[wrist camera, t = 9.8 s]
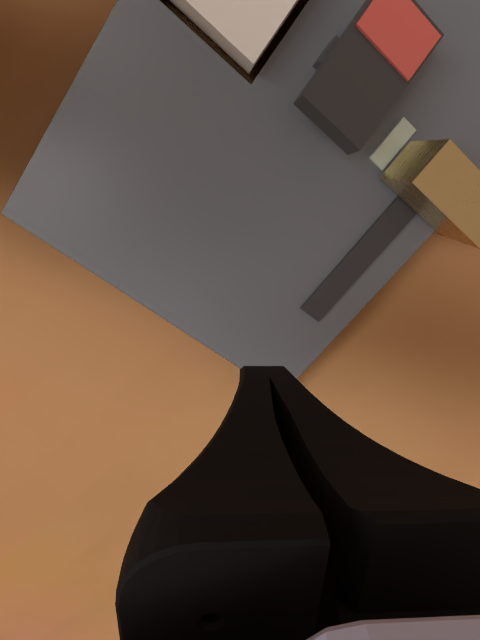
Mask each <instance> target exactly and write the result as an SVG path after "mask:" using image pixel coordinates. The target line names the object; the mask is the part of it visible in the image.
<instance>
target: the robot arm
mask: <svg viewBox="0 0 480 640" xmlns="http://www.w3.org/2000/svg"><path fill="white" fill-rule="evenodd" d="M115 605H116V613H117V620H118V628H119V635H120V640H480V489H479V488H476V487H473V486H470V485H468V484H465V483H462V482H460V481H457V480H454V479H452V478H449V477H446V476H444V475H441V474H439V473H437V472H434V471H432V470H430V469H428V468H425V467H423V466H421V465H419V464H417V463H414V462H412V461H410V460H408V459H406V458H404V457H402V456H400V455H398V454H396V453H395V452H393V451H391V450H389V449H387V448H386V447H384V446H382V445H380V444H378V443H377V442H375V441H373V440H372V439H370V438H368V437H367V436H365V435H364V434H362V433H361V432H359V431H358V430H356V429H355V428H353V427H352V426H350V425H349V424H348V423H346V422H345V421H343V420H342V419H341V418H340V417H338V416H337V415H336V414H335V413H333V412H332V411H331V410H330V409H328V408H327V407H326V406H325V405H324V404H322V403H321V402H320V401H319V400H318V399H317V398H316V397H315V396H314V395H312V394H311V393H310V392H309V391H308V390H307V389H306V388H305V387H304V386H303V385H302V384H301V383H300V382H299V381H298V380H297V379H296V378H295V377H294V376H293V375H292V374H291V373H290V372H289V371H288V370H287V369H286V368H285V367H284V366H243V367H242V368H241V369H240V382H239V385H238V389H237V392H236V394H235V397H234V400H233V402H232V404H231V406H230V408H229V410H228V412H227V414H226V416H225V418H224V420H223V422H222V424H221V425H220V427H219V428H218V430H217V432H216V433H215V435H214V436H213V438H212V439H211V440H210V442H209V443H208V444H207V446H206V447H205V448H204V449H203V451H202V452H201V453H200V454H199V456H198V457H197V458H196V459H195V460H194V461H193V462H192V463H191V464H190V465H189V466H188V467H187V468H186V469H185V470H184V471H183V472H182V473H181V475H180V476H179V477H178V478H176V479H175V480H174V481H173V482H172V483H171V484H170V485H168V486H167V487H166V488H165V489H164V490H162V491H161V492H160V493H159V494H157V495H156V496H155V497H154V498H153V499H151V500H150V501H148V503H147V505H146V506H145V508H144V510H143V512H142V515H141V517H140V519H139V521H138V523H137V525H136V527H135V529H134V532H133V534H132V536H131V539H130V542H129V544H128V547H127V550H126V553H125V556H124V559H123V563H122V567H121V571H120V576H119V580H118V585H117V589H116V602H115Z"/></svg>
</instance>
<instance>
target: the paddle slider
mask: <svg viewBox="0 0 480 640" xmlns="http://www.w3.org/2000/svg"><path fill="white" fill-rule="evenodd" d="M380 178H381V179H382V180H383V181H384V182H385V183H386V184H387V185H388V186H389V187H390V188H391V189H392V190H393V191H394V192H395V193H396V194H397V195H399V196H400V197H401V198H402V199H403V200H404V201H405V202H406V203H407V204H408V205H409V206H410V207H411V208H412V209H413V210H414V211H415V212H416V213H418V214H419V215H420V216H421V217H422V218H423V219H424V220H425V221H426V222H427V223H428V224H429V225H430V226H431V227H432V228H433V229H434V230H436V231H437V232H438V233H439V234H440V235H443V236H446V237H449V238H451V239H454V240H457V241H460V242H462V243H465V244H468V245H471V246H474V247H476V248H479V249H480V170H479V169H478V168H477V167H476V166H475V165H474V164H473V163H472V162H471V161H470V160H469V159H468V158H467V157H466V155H465V154H464V153H463V152H462V151H461V150H460V149H459V148H458V147H457V146H456V145H455V144H454V143H453V142H452V141H451V139H440V140H423V141H410V142H409V143H408V144H407V146H406V147H405V148H404V149H403V150H402V152H401V153H400V154H399V155H398V156H397V157H396V159H395V160H394V161H393V162H392V163H391V165H390V166H389V167H388V168H387V169H386V170H385V172H384V173H383V174H382V175H381V176H380Z"/></svg>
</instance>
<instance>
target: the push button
mask: <svg viewBox="0 0 480 640" xmlns="http://www.w3.org/2000/svg"><path fill="white" fill-rule="evenodd" d="M169 1H171V2H172V3H173V4H174V5H175V6H176V7H177V8H178V9H179V10H180V11H181V12H182V13H183V14H185V15H186V16H187V17H188V18H189V19H190V20H191V21H192V22H193V23H194V24H195V25H196V26H197V27H199V28H200V29H201V30H202V31H203V32H204V33H205V34H206V35H207V36H208V37H209V38H210V39H212V40H213V41H214V42H215V43H216V44H217V45H218V46H219V47H220V48H221V49H222V50H223V51H224V52H226V53H227V54H228V55H229V56H230V57H231V58H232V59H233V60H234V61H235V62H236V63H237V64H238V65H240V66H241V67H242V68H243V69H244V70H245V71H246V72H247V73H248V74H250V72H251V71H252V69H253V68H254V66H255V65H256V63H257V62H258V60H259V59H260V57H261V56H262V54H263V53H264V51H265V50H266V48H267V47H268V46H269V44H270V43H271V41H272V40H273V38H274V37H275V35H276V34H277V32H278V31H279V29H280V28H281V26H282V25H283V23H284V22H285V20H286V19H287V18H288V16H289V15H290V13H291V12H292V10H293V9H294V7H295V6H296V4H297V3H298V1H299V0H169Z"/></svg>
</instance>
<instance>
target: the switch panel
mask: <svg viewBox="0 0 480 640" xmlns="http://www.w3.org/2000/svg"><path fill="white" fill-rule="evenodd" d="M365 1H366V0H309V1H308V2H307V4H306V5H305V7H304V8H303V10H302V11H301V13H300V14H299V15H298V17H297V18H296V20H295V21H294V23H293V24H292V26H291V27H290V29H289V30H288V32H287V33H286V34H285V36H284V37H283V39H282V40H281V42H280V43H279V45H278V46H277V48H276V49H275V50H274V52H273V53H272V55H271V56H270V58H269V59H268V61H267V62H266V64H265V65H264V67H263V68H262V69H261V71H260V72H259V74H258V75H257V77H256V78H255V80H254V81H253V83H252V84H250V83H249V82H248V81H247V80H246V79H245V78H243V77H242V76H241V75H240V74H239V73H238V72H237V71H236V70H235V69H234V68H233V67H232V66H230V65H229V64H228V63H227V62H226V61H225V60H224V59H223V58H222V57H221V56H220V55H218V54H217V53H216V52H215V51H214V50H213V49H212V48H211V47H210V46H209V45H208V44H206V43H205V42H204V41H203V40H202V39H201V38H200V37H199V36H198V35H197V34H196V33H195V32H193V31H192V30H191V29H190V28H189V27H188V26H187V25H186V24H185V23H184V22H183V21H181V20H180V19H179V18H178V17H177V16H176V15H175V14H174V13H173V12H172V11H171V10H170V9H168V8H167V7H166V6H165V5H164V4H163V3H162V2H161V1H160V0H117V2H116V4H115V6H114V7H113V9H112V11H111V13H110V15H109V17H108V18H107V20H106V22H105V24H104V26H103V28H102V29H101V31H100V33H99V35H98V37H97V39H96V40H95V42H94V44H93V46H92V48H91V50H90V51H89V53H88V55H87V57H86V59H85V60H84V62H83V64H82V66H81V68H80V70H79V71H78V73H77V75H76V77H75V79H74V81H73V82H72V84H71V86H70V88H69V90H68V92H67V93H66V95H65V97H64V99H63V101H62V103H61V104H60V106H59V108H58V110H57V112H56V114H55V115H54V117H53V119H52V121H51V123H50V125H49V126H48V128H47V130H46V132H45V134H44V136H43V137H42V139H41V141H40V143H39V145H38V147H37V148H36V150H35V152H34V154H33V156H32V157H31V159H30V161H29V163H28V165H27V167H26V168H25V170H24V172H23V174H22V176H21V178H20V179H19V181H18V183H17V185H16V187H15V189H14V190H13V192H12V194H11V196H10V198H9V200H8V201H7V203H6V205H5V207H4V209H3V211H2V212H1V214H3V215H4V216H6V217H7V218H9V219H10V220H12V221H13V222H15V223H17V224H18V225H20V226H21V227H23V228H24V229H26V230H27V231H29V232H30V233H32V234H33V235H35V236H37V237H38V238H40V239H41V240H43V241H44V242H46V243H47V244H49V245H50V246H52V247H54V248H55V249H57V250H58V251H60V252H61V253H63V254H64V255H66V256H67V257H69V258H71V259H72V260H74V261H75V262H77V263H78V264H80V265H81V266H83V267H84V268H86V269H87V270H89V271H91V272H92V273H94V274H95V275H97V276H98V277H100V278H101V279H103V280H104V281H106V282H108V283H109V284H111V285H112V286H114V287H115V288H117V289H118V290H120V291H121V292H123V293H125V294H126V295H128V296H129V297H131V298H132V299H134V300H135V301H137V302H138V303H140V304H142V305H143V306H145V307H146V308H148V309H149V310H151V311H152V312H154V313H155V314H157V315H158V316H160V317H162V318H163V319H165V320H166V321H168V322H169V323H171V324H172V325H174V326H175V327H177V328H179V329H180V330H182V331H183V332H185V333H186V334H188V335H189V336H191V337H192V338H194V339H196V340H197V341H199V342H200V343H202V344H203V345H205V346H206V347H208V348H209V349H211V350H212V351H214V352H216V353H217V354H219V355H220V356H222V357H223V358H225V359H226V360H228V361H229V362H231V363H233V364H234V365H236V366H237V367H239V368H240V369H241V368H242V367H243V366H284V367H285V368H286V369H287V370H288V371H289V372H290V373H291V374H292V375H293V376H294V377H295V378H296V379H297V378H298V377H299V376H300V375H301V374H302V373H303V372H304V371H305V370H306V369H307V367H308V366H309V365H310V364H311V363H312V362H313V361H314V360H315V359H316V358H317V357H318V356H319V355H320V354H321V352H322V351H323V350H324V349H325V348H326V347H327V346H328V345H329V344H330V343H331V342H332V341H333V340H334V339H335V337H336V336H337V335H338V334H339V333H340V332H341V331H342V330H343V329H344V328H345V327H346V326H347V325H348V324H349V322H350V321H351V320H352V319H353V318H354V317H355V316H356V315H357V314H358V313H359V312H360V311H361V310H362V309H363V307H364V306H365V305H366V304H367V303H368V302H369V301H370V300H371V299H372V298H373V297H374V296H375V295H376V294H377V292H378V291H379V290H380V289H381V288H382V287H383V286H384V285H385V284H386V283H387V282H388V281H389V280H390V279H391V277H392V276H393V275H394V274H395V273H396V272H397V271H398V270H399V269H400V268H401V267H402V266H403V265H404V264H405V262H406V261H407V260H408V259H409V258H410V257H411V256H412V255H413V254H414V253H415V252H416V251H417V250H418V248H419V247H420V246H421V245H422V244H423V243H424V242H425V241H426V240H427V239H428V238H429V237H430V236H431V235H432V233H433V232H434V231H435V230H434V229H433V228H432V227H431V226H430V225H429V224H428V223H427V222H426V221H425V220H424V219H423V218H422V217H421V216H420V215H419V214H418V213H416V212H415V211H414V210H413V209H412V208H411V207H410V206H409V205H408V204H407V203H406V202H405V201H404V200H403V199H402V198H401V197H400V196H399V195H397V194H396V193H395V192H394V191H393V190H392V189H391V188H390V187H389V186H388V185H387V184H386V183H385V182H384V181H383V180H382V179H381V178H380V176H381V175H382V174H383V173H384V172H385V170H386V169H387V168H388V167H389V166H390V165H391V163H392V162H393V161H394V160H395V159H396V157H397V156H398V155H399V154H400V153H401V152H402V150H403V149H404V148H405V147H406V146H407V144H408V143H409V142H410V141H423V140H440V139H451V141H452V142H453V143H454V144H455V145H456V146H457V147H458V148H459V149H460V150H461V151H462V152H463V153H464V154H465V155H466V157H467V158H468V159H469V160H470V161H471V162H472V163H473V164H474V165H475V166H476V167H477V168H478V169H479V170H480V0H415V1H416V2H417V3H418V4H419V5H420V6H421V8H422V9H423V10H424V11H425V12H426V14H427V15H428V16H429V17H430V18H431V19H432V21H433V22H434V23H435V24H436V25H437V27H438V28H439V29H440V30H441V31H442V32H443V34H444V36H443V37H442V39H441V40H440V42H439V43H438V44H437V46H436V47H435V48H434V50H433V51H432V53H431V54H430V55H429V57H428V58H427V59H426V61H425V62H424V64H423V65H422V66H421V68H420V69H419V70H418V72H417V73H416V75H415V76H414V77H413V79H412V80H411V81H410V83H409V84H408V86H407V87H406V88H405V90H404V91H403V92H402V94H401V95H400V97H399V98H398V99H397V101H396V102H395V103H394V105H393V106H392V108H391V109H390V110H389V112H388V113H387V114H386V116H385V117H384V119H383V120H382V121H381V123H380V124H379V125H378V127H377V128H376V130H375V131H374V132H373V134H372V135H371V136H370V138H369V139H368V141H367V142H366V143H365V145H364V146H363V147H362V149H361V150H360V151H357V152H355V153H352V154H349V155H347V154H346V153H345V152H344V151H343V150H342V149H341V148H340V147H339V146H338V145H337V144H335V143H334V142H333V141H332V140H331V139H330V138H329V137H328V136H327V135H326V134H325V133H324V132H323V131H322V130H321V129H319V128H318V127H317V126H316V125H315V124H314V123H313V122H312V121H311V120H310V119H309V118H308V117H307V116H306V115H305V114H304V113H302V112H301V111H300V110H299V109H298V108H297V107H296V106H295V105H294V104H293V103H294V102H295V100H296V99H297V97H298V96H299V94H300V93H301V92H302V90H303V89H304V87H305V86H306V84H307V83H308V82H309V80H310V79H311V77H312V76H313V75H314V73H315V72H316V70H317V69H318V67H319V66H320V65H321V63H322V62H323V60H324V59H325V57H326V56H327V55H328V53H329V52H330V50H331V49H332V48H333V46H334V45H335V43H336V42H337V40H338V39H339V38H340V36H341V35H342V33H343V32H344V30H345V29H346V28H347V26H348V25H349V23H350V22H351V21H352V19H353V18H354V16H355V15H356V13H357V12H358V11H359V9H360V8H361V6H362V5H363V3H364V2H365Z"/></svg>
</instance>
